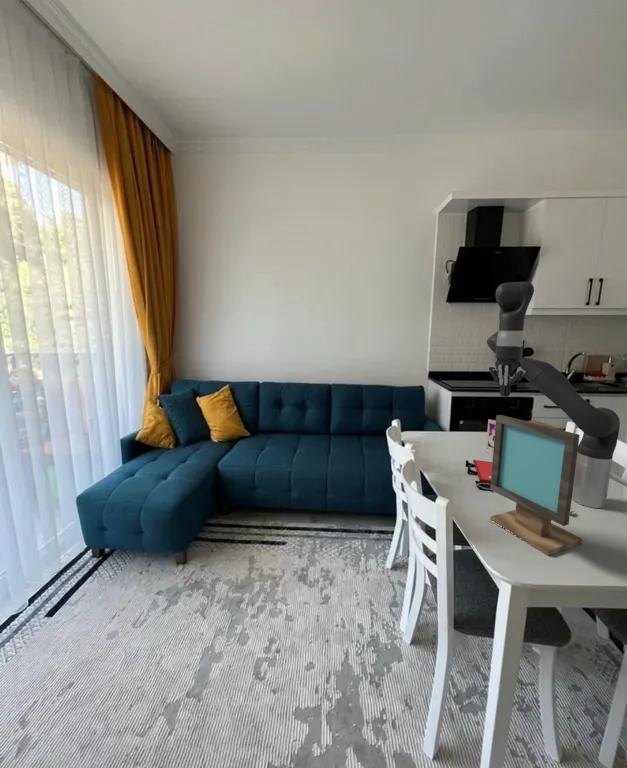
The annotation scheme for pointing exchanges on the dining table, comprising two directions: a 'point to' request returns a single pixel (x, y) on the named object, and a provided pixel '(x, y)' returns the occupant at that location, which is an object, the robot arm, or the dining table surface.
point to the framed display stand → (537, 525)
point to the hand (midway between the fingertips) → (504, 396)
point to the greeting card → (491, 434)
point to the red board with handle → (481, 473)
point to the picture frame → (535, 466)
